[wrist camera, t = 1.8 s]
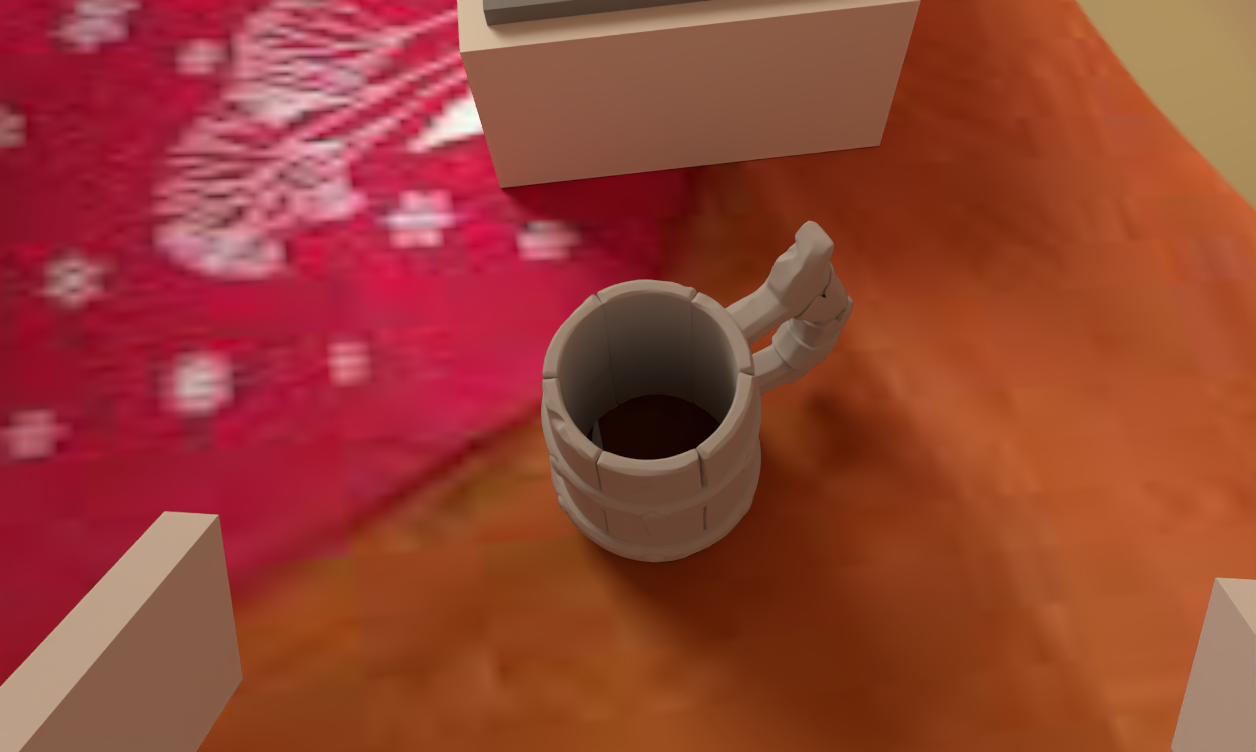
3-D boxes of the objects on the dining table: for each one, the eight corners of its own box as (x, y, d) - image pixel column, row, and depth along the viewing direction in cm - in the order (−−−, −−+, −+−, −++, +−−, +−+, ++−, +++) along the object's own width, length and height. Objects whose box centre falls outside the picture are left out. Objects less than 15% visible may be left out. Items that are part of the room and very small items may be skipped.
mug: (516, 446, 43) (457, 316, 32) (766, 285, 45) (792, 109, 34) (628, 611, 40) (605, 533, 29) (887, 433, 42) (958, 296, 31)
